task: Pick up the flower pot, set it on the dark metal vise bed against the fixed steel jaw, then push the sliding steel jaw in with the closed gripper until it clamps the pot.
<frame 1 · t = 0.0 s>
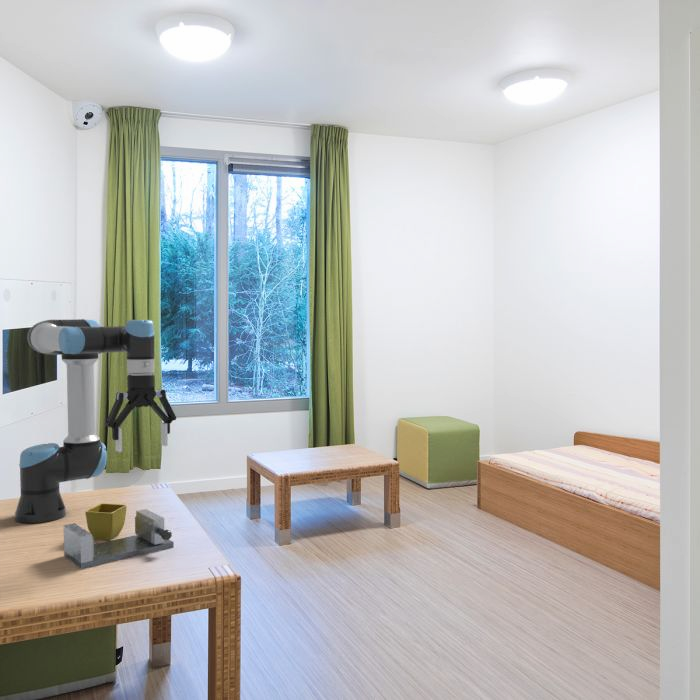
hand: (142, 448, 197), 28 cm above the table, fingers open, 13 cm apart
vise base: (119, 551, 193), on the table
flower pot: (106, 538, 205), on the table
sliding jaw: (153, 528, 196), point 5 cm above the table, slide at 0.0 cm
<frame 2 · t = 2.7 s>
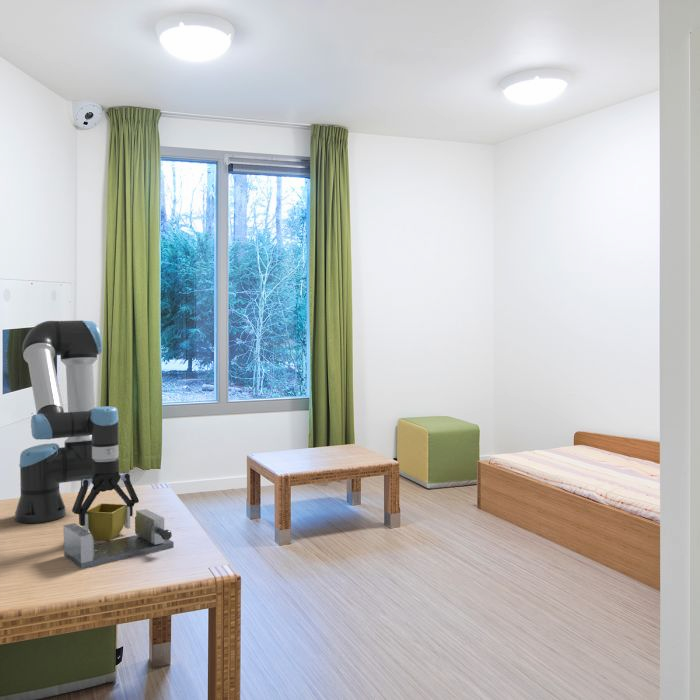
hand: (106, 531, 205), 2 cm above the table, fingers closed on flower pot, 12 cm apart
flower pot: (106, 538, 205), on the table, touching gripper
everything else where it was.
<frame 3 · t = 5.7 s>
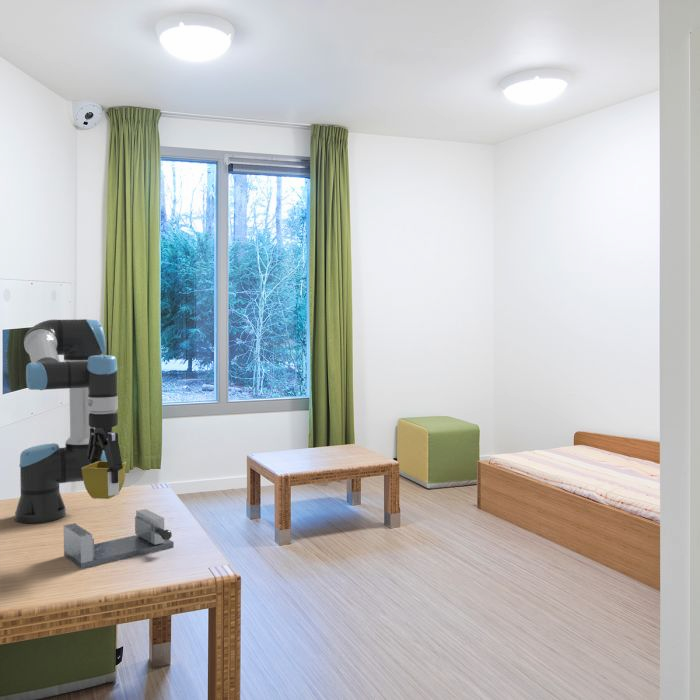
hand: (104, 490, 189), 18 cm above the table, fingers closed on flower pot, 12 cm apart
flower pot: (104, 497, 189), point 16 cm above the table, touching gripper
everything else where it was.
when the fingers open (5 cm above the table, at t = 8.7 s): flower pot drops 1 cm, resting on vise base.
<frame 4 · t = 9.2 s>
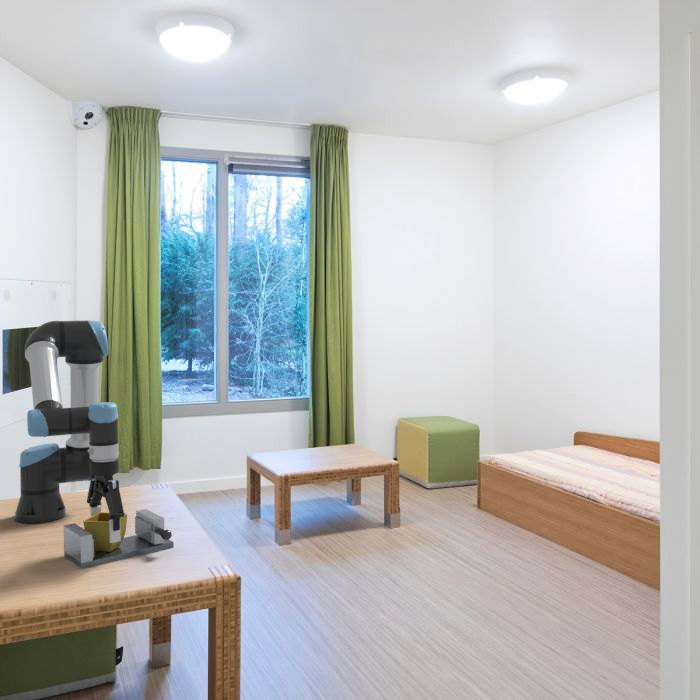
hand: (105, 535, 190), 5 cm above the table, fingers open, 13 cm apart
flower pot: (106, 549, 190), point 1 cm above the table, touching vise base
everything else where it was.
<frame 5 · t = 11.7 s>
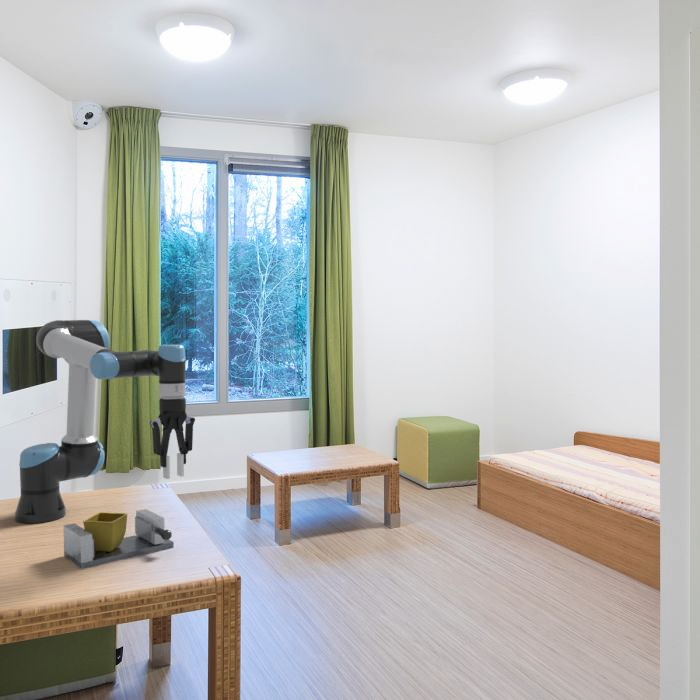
hand: (173, 476, 202), 19 cm above the table, fingers open, 4 cm apart
nothing on the table moved.
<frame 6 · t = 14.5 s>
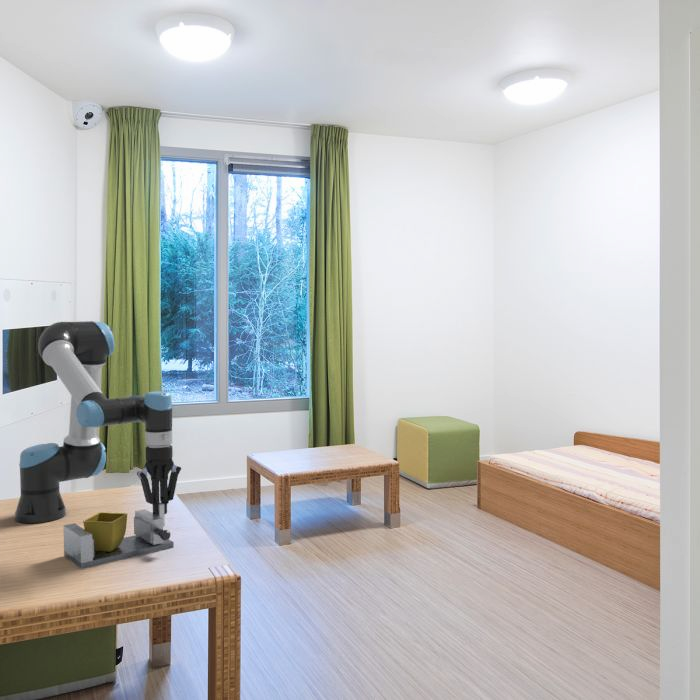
hand: (160, 525, 200), 5 cm above the table, fingers closed
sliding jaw: (152, 529, 196), point 5 cm above the table, slide at 0.3 cm, touching gripper
everything else where it was.
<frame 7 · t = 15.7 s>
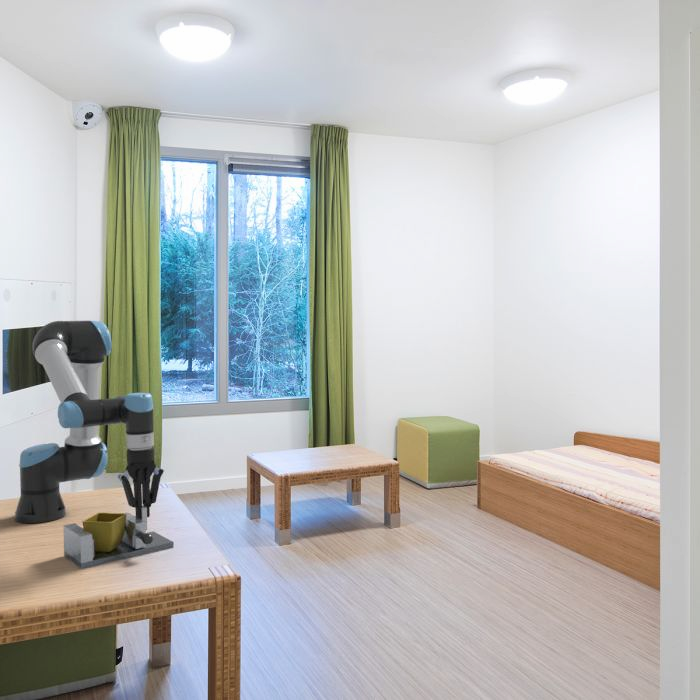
hand: (143, 529, 197), 5 cm above the table, fingers closed
flower pot: (105, 550, 190), point 1 cm above the table, touching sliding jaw, vise base
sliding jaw: (135, 532, 192), point 5 cm above the table, slide at 5.5 cm, touching flower pot, gripper
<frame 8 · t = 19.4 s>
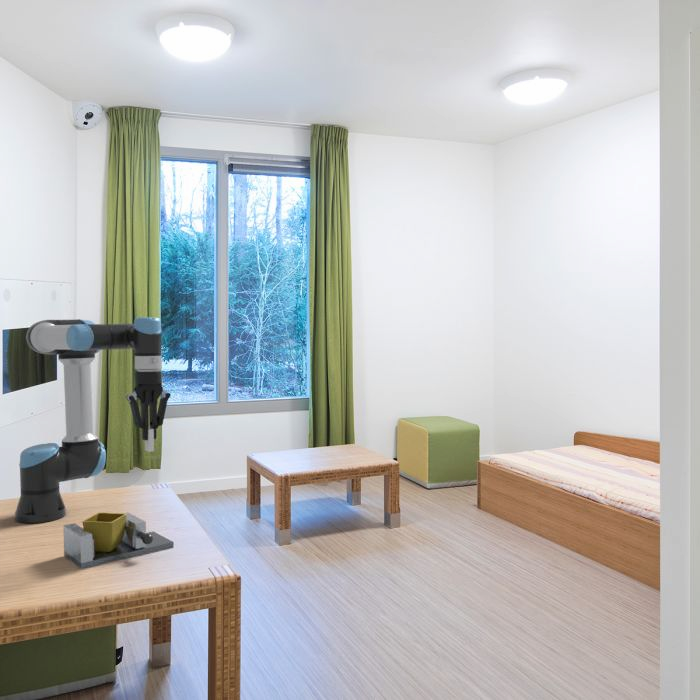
hand: (149, 450, 202), 26 cm above the table, fingers closed
flower pot: (105, 550, 190), point 1 cm above the table, touching vise base
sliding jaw: (135, 532, 192), point 5 cm above the table, slide at 5.5 cm
at the end: flower pot inside the target area (0.3 cm from its centre), point 1.3 cm above the table; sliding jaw slide at 5.5 cm; flower pot tilted 0° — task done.
